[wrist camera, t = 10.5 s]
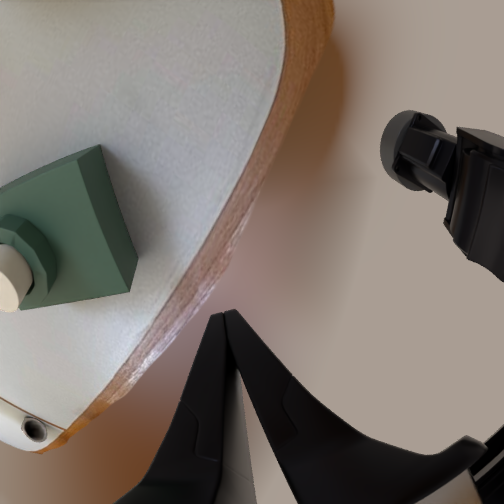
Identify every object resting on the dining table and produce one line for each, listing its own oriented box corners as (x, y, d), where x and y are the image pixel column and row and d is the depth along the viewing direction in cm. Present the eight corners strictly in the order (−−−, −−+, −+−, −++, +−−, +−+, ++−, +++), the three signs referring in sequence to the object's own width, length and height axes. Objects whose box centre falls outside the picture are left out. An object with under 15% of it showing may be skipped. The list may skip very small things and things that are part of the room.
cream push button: (16, 237, 13) (-2, 259, 11) (42, 285, 15) (28, 310, 13) (-15, 249, 13) (-32, 270, 11) (9, 292, 15) (-3, 315, 13)
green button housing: (99, 143, 16) (64, 168, 12) (138, 259, 22) (125, 309, 17) (-7, 191, 16) (-46, 224, 11) (36, 281, 21) (13, 325, 16)
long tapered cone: (39, 450, 43) (43, 447, 35) (20, 439, 40) (19, 432, 33) (44, 434, 48) (50, 427, 40) (25, 423, 45) (26, 412, 37)
